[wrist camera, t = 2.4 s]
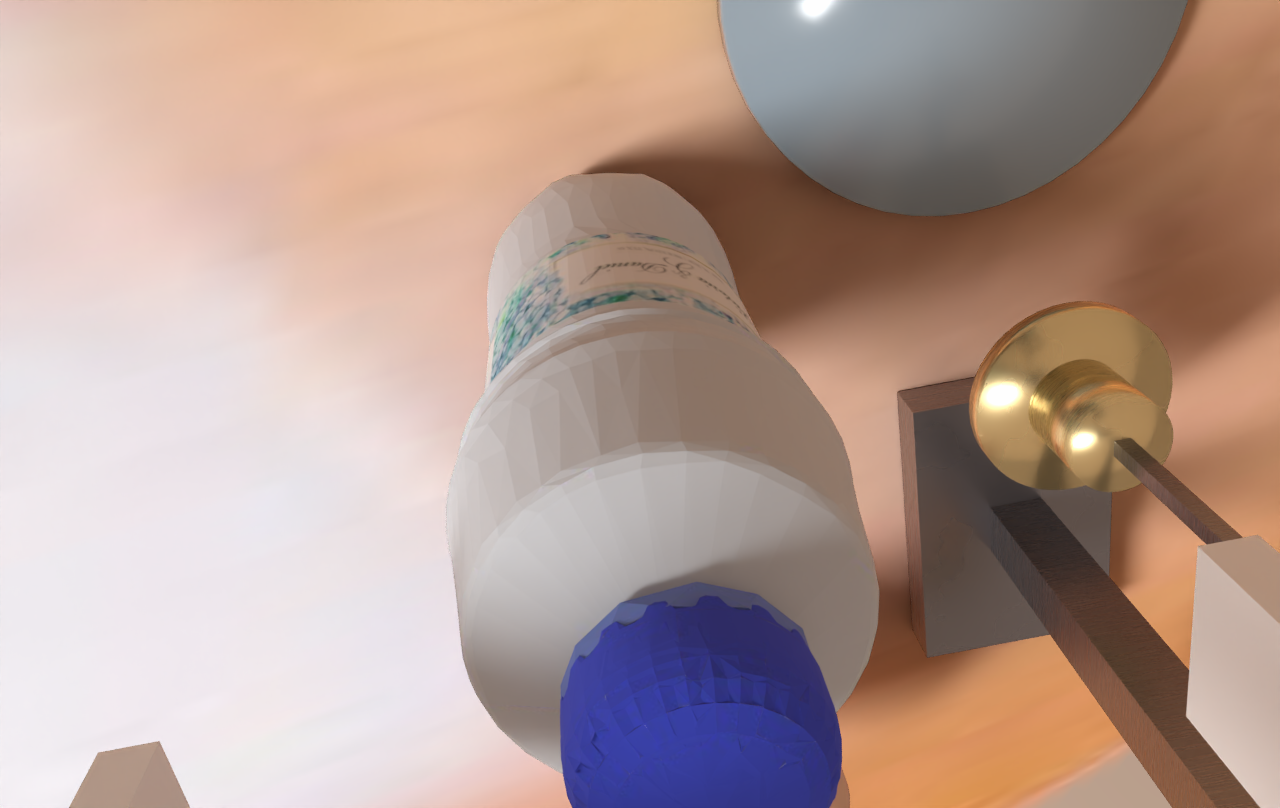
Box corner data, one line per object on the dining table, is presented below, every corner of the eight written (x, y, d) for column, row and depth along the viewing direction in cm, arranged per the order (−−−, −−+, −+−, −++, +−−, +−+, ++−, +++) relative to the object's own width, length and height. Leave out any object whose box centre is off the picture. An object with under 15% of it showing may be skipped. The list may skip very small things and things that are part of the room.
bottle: (763, 202, 29) (1123, 672, 11) (666, 408, 32) (836, 1066, 14) (534, 107, 28) (529, 481, 10) (450, 332, 30) (322, 965, 12)
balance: (889, 266, 31) (1295, 681, 14) (1094, 228, 31) (1733, 598, 14) (918, 719, 38) (1209, 1337, 22) (1083, 687, 38) (1499, 1280, 22)
